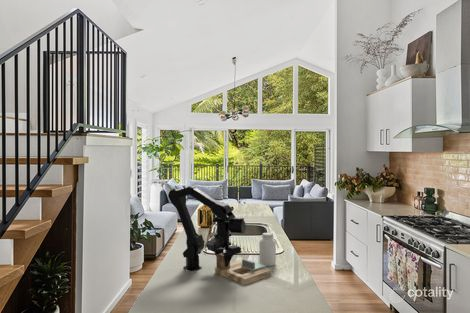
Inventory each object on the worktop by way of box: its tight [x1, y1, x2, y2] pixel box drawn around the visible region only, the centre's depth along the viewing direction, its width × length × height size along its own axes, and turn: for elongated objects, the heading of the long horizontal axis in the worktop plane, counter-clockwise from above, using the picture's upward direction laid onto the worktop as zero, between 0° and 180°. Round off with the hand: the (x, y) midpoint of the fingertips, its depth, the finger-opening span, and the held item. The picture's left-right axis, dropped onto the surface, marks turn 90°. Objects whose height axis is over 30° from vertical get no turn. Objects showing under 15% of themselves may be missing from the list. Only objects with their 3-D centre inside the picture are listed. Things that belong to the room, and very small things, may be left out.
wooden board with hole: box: [214, 259, 272, 286], centre depth 165 cm, size 20×16×2 cm
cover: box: [241, 258, 267, 271], centre depth 167 cm, size 8×8×3 cm
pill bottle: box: [259, 232, 277, 267], centre depth 179 cm, size 8×8×15 cm
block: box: [215, 251, 231, 269], centre depth 167 cm, size 4×4×6 cm
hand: (223, 265), depth 167 cm, fingers closed on block, 4 cm apart
